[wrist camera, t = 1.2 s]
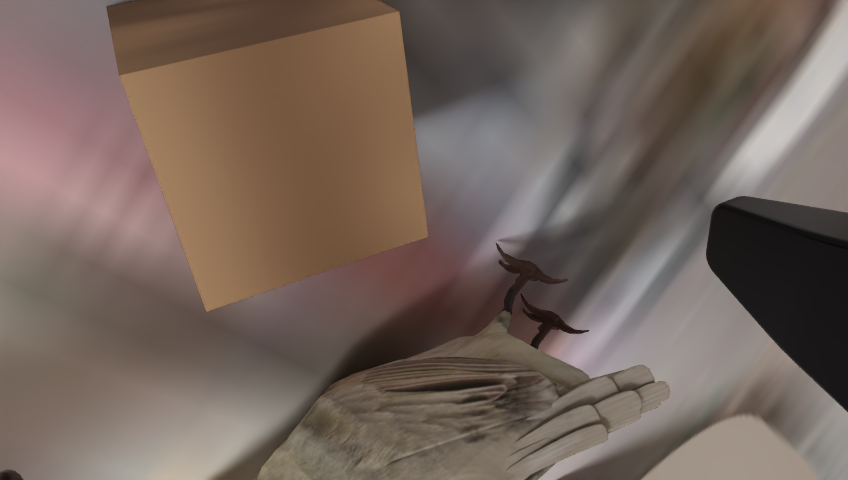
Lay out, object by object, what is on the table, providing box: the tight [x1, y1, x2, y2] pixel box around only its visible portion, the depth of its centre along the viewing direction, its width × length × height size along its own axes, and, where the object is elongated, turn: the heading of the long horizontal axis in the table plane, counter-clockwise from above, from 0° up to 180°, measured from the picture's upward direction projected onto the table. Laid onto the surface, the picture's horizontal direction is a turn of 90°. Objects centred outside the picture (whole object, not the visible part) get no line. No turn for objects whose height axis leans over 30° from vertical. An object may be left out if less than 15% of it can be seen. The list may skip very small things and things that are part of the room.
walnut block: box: [106, 0, 428, 312], centre depth 16 cm, size 5×5×6 cm
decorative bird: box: [256, 243, 670, 480], centre depth 22 cm, size 5×16×7 cm, turn 114°
